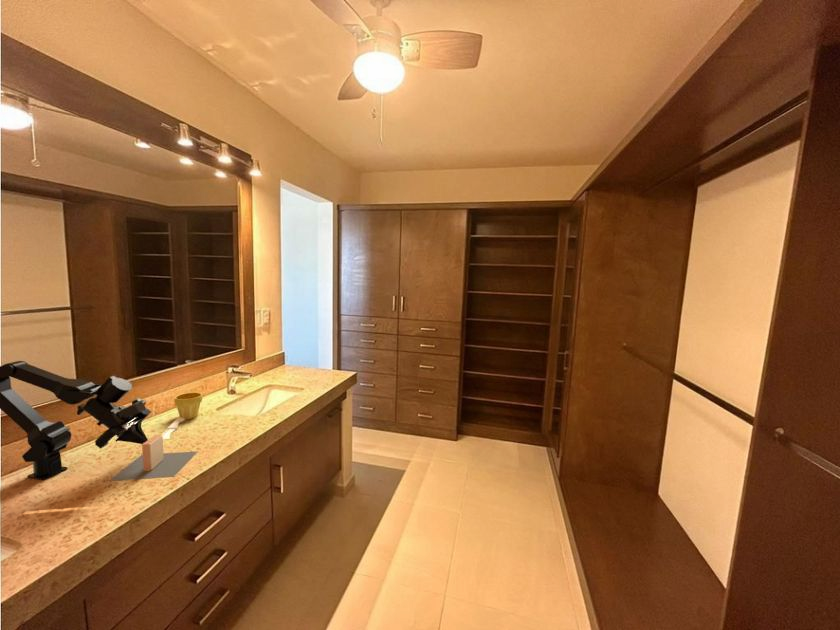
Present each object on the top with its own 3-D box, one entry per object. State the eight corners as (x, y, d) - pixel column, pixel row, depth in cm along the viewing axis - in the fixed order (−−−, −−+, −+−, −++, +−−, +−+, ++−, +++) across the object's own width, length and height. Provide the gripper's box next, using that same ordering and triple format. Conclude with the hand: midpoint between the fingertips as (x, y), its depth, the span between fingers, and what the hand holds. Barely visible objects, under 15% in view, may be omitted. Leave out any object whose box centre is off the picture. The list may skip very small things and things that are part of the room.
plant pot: (207, 412, 159) (206, 392, 158) (193, 421, 149) (192, 399, 148) (185, 412, 159) (184, 391, 158) (169, 421, 148) (168, 399, 147)
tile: (143, 471, 109) (142, 444, 108) (156, 459, 116) (155, 434, 115) (151, 470, 109) (150, 444, 109) (164, 459, 116) (162, 434, 115)
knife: (166, 451, 122) (141, 453, 120) (166, 455, 123) (141, 457, 121) (197, 416, 151) (177, 417, 149) (197, 419, 151) (177, 420, 149)
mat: (108, 482, 103) (108, 480, 103) (141, 456, 119) (141, 454, 119) (174, 478, 107) (173, 476, 107) (198, 453, 122) (198, 451, 122)
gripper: (103, 404, 100) (147, 438, 103) (143, 385, 118) (180, 414, 121) (74, 432, 99) (120, 465, 102) (119, 408, 118) (156, 437, 121)
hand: (147, 443), depth 112 cm, fingers closed
